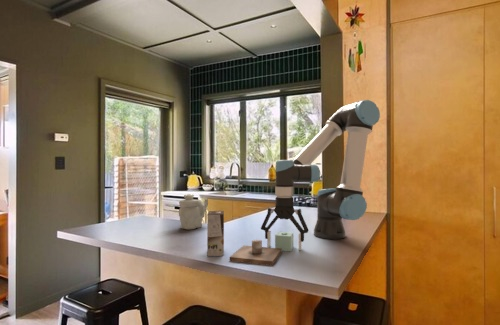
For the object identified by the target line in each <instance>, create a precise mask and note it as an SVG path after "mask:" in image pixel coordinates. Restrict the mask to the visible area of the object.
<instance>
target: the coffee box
mask: <svg viewBox="0 0 500 325" xmlns="http://www.w3.org/2000/svg"><path fill="white" fill-rule="evenodd" d="M224 213H225V211H224V210H209V211H208V212H207V214H206V217H207V218H206V219H207V222H206V223H207V226H206V227H207V232H206V234H207V238H206V239H207V240H206V242H207V244H206V245H207V246H206V247H207V249H206V250H207V252H206V253H207V257H222V256H224V247H225V246H224V245H225V244H224V243H225V214H224Z"/></svg>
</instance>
